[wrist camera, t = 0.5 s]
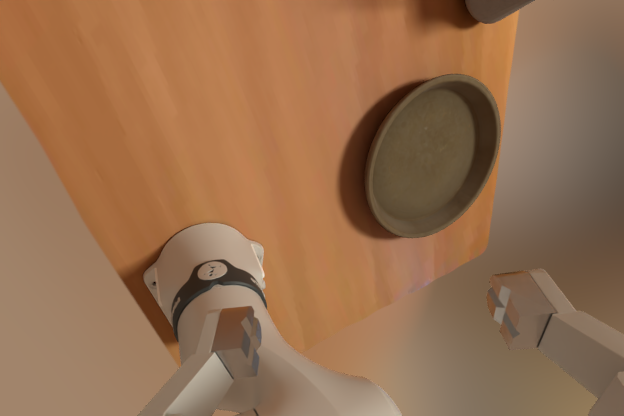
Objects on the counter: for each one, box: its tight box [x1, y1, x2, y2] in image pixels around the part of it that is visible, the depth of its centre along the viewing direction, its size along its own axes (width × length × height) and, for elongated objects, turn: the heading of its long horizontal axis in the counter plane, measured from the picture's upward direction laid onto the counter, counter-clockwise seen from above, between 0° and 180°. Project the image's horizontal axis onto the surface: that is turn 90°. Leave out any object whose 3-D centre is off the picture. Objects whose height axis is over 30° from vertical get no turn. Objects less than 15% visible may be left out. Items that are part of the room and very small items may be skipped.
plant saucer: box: [365, 74, 501, 238], centre depth 63 cm, size 31×31×5 cm
